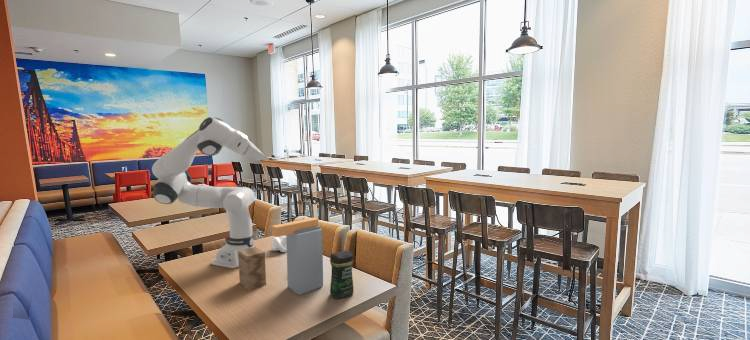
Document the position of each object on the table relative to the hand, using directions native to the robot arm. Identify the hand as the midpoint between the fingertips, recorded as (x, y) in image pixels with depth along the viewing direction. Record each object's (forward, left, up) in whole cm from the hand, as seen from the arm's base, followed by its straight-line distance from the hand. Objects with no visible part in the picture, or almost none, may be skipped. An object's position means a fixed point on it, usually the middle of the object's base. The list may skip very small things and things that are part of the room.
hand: (265, 156), depth 161 cm
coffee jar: (+40, -14, -57) cm, 71 cm away
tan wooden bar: (+20, -13, -31) cm, 39 cm away
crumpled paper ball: (-10, +32, -57) cm, 66 cm away
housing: (+22, -10, -57) cm, 62 cm away
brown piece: (-2, -11, -57) cm, 58 cm away
